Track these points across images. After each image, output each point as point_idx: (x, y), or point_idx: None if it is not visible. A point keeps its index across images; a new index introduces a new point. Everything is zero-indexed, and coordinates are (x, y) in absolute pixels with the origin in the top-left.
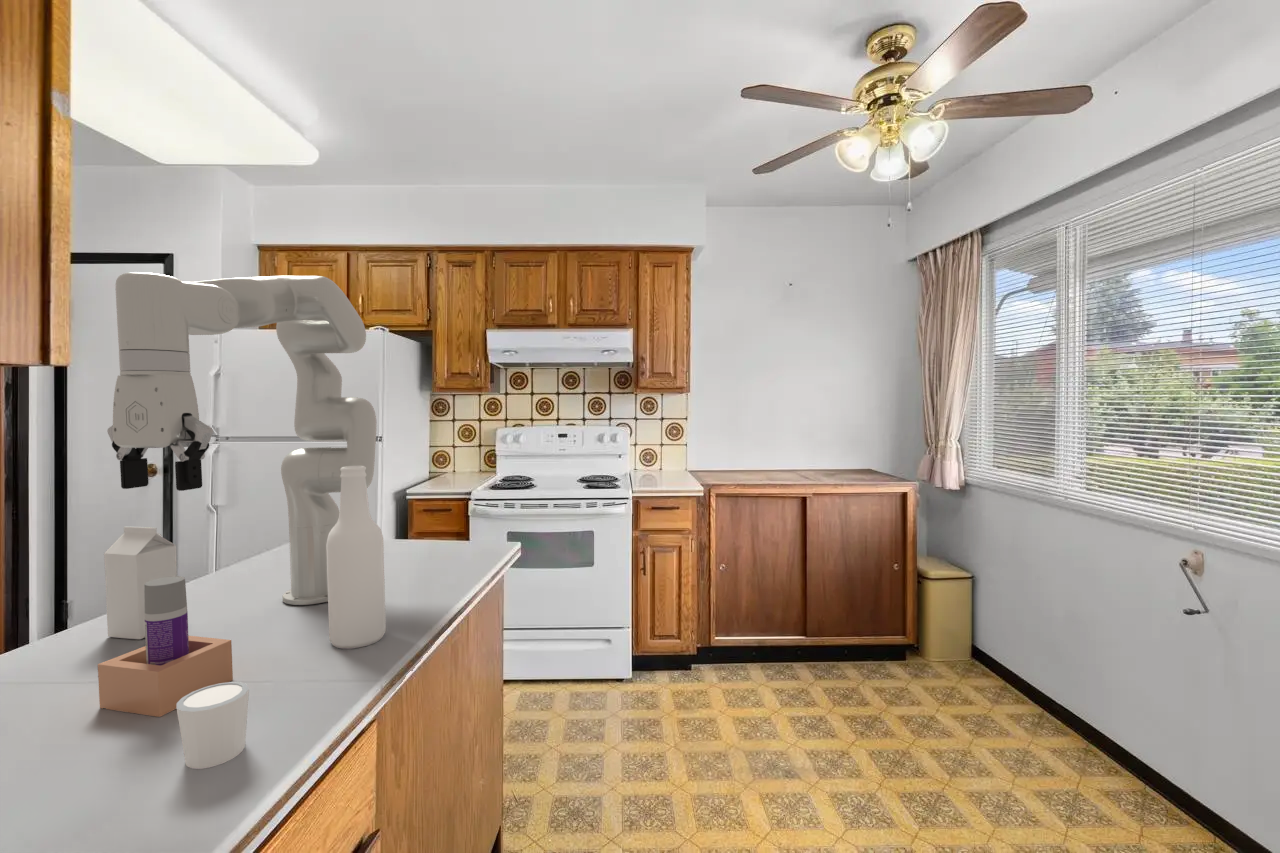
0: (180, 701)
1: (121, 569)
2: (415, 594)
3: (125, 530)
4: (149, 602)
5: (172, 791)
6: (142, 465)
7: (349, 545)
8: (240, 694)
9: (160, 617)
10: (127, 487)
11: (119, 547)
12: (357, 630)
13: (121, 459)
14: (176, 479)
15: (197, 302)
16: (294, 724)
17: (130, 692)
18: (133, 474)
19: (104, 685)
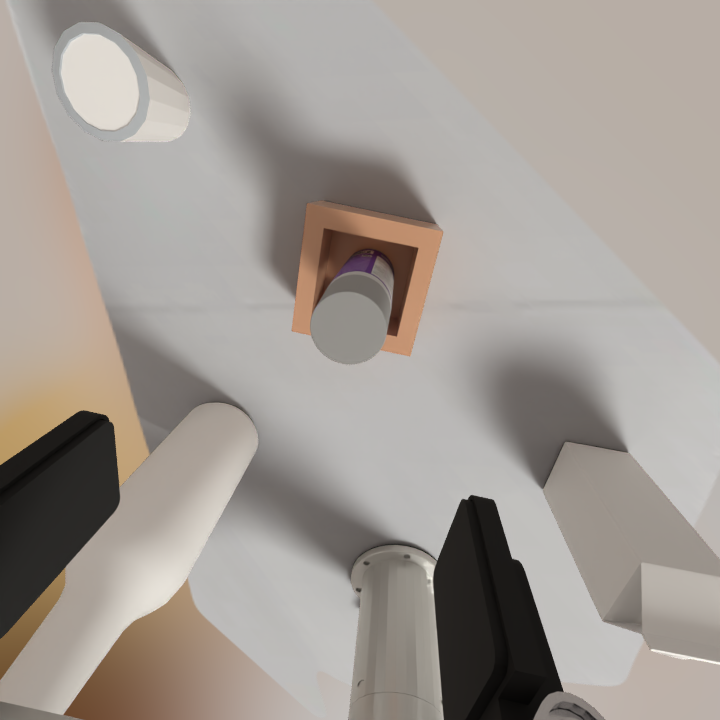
0: (133, 57)
1: (664, 540)
2: (251, 570)
3: None
4: (357, 281)
5: (133, 4)
6: (453, 683)
7: None
8: (59, 90)
9: (340, 276)
10: (463, 502)
11: (711, 596)
12: (188, 416)
13: (547, 696)
14: (56, 447)
15: None
16: (119, 186)
17: (373, 213)
18: (461, 589)
19: (428, 225)
